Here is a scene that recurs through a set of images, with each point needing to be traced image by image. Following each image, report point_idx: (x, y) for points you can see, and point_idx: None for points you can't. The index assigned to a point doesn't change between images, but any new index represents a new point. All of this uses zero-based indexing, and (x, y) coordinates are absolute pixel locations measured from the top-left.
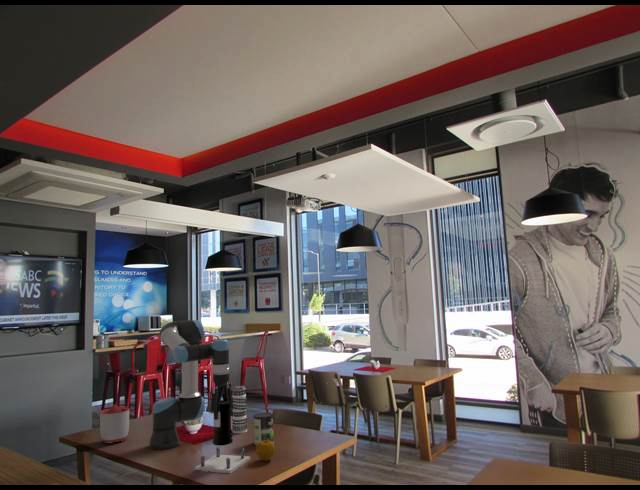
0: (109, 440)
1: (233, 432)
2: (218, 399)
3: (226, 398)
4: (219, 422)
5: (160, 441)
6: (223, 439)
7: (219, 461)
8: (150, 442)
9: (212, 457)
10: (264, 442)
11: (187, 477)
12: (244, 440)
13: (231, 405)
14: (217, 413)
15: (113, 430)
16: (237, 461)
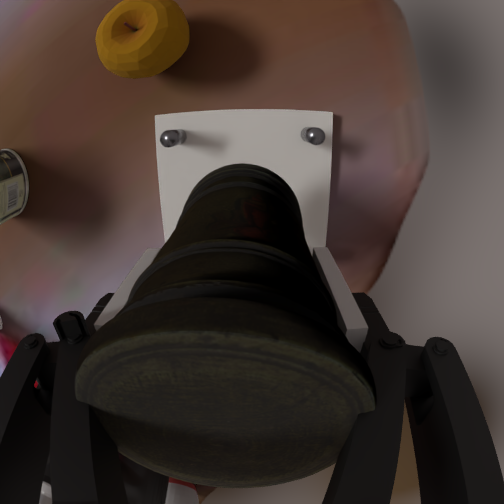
0: (194, 489)
1: (2, 324)
2: (384, 489)
3: (97, 449)
4: (336, 264)
5: None
6: (291, 197)
7: None
8: None
9: None
10: (122, 38)
11: (382, 253)
12: (16, 263)
13: (64, 321)
14: (370, 331)
15: (189, 501)
16: (225, 135)
